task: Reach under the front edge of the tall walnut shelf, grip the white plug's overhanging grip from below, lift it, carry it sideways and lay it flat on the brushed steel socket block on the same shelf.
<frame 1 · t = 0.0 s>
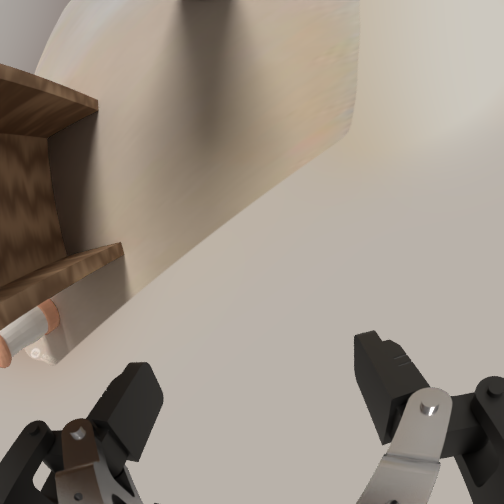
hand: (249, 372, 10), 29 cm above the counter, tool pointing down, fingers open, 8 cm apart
pepper shaker: (48, 311, 44), on the counter
walnut shelf: (74, 186, 37), on the counter
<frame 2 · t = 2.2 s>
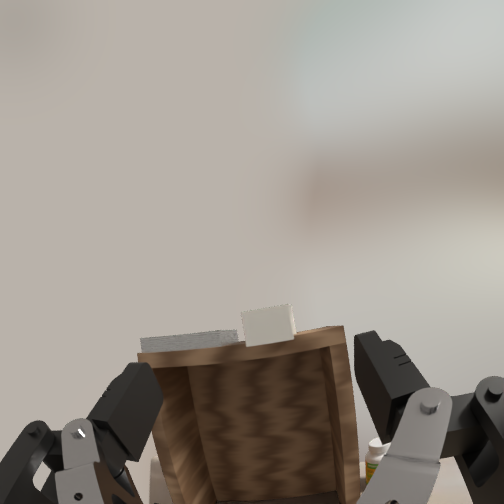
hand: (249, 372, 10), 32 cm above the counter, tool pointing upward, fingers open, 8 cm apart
socket block: (194, 348, 37), resting on walnut shelf
plug: (275, 338, 31), point 32 cm above the counter, touching walnut shelf
supplement bottle: (380, 482, 30), on the counter
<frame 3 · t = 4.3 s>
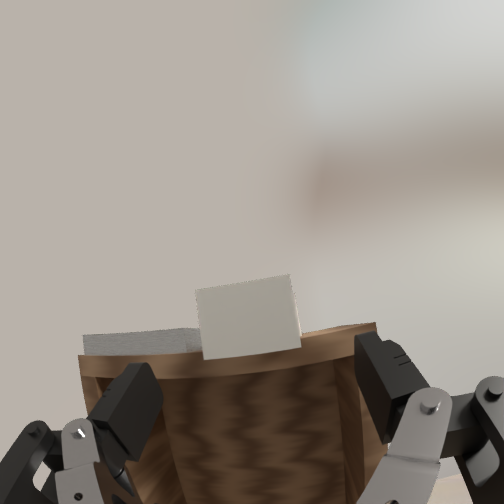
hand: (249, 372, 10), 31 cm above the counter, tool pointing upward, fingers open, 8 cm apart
socket block: (158, 352, 26), resting on walnut shelf
plug: (270, 343, 20), point 32 cm above the counter, touching walnut shelf
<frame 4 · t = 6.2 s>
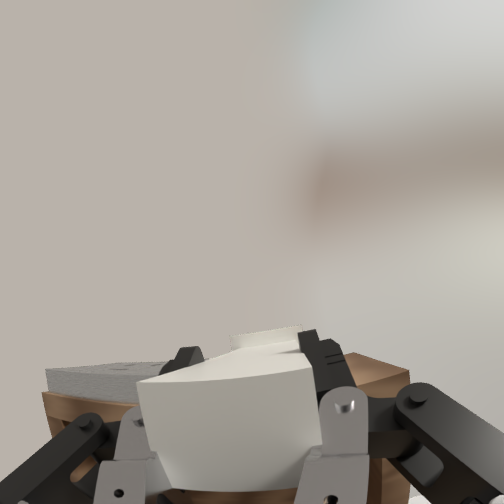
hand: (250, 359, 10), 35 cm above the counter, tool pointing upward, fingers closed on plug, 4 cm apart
socket block: (135, 389, 20), resting on walnut shelf
plug: (269, 398, 14), point 32 cm above the counter, touching gripper, walnut shelf
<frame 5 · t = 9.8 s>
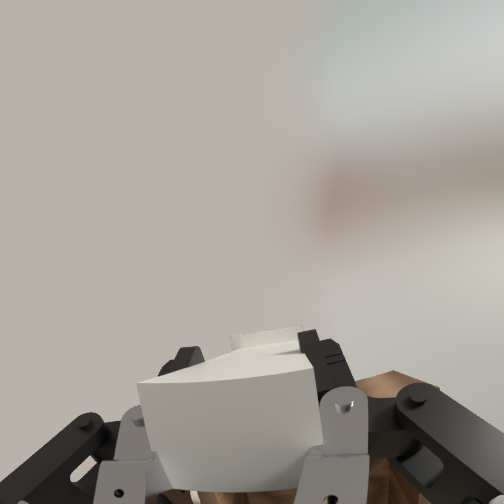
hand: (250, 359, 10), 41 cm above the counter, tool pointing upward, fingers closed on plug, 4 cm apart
plug: (270, 398, 14), point 38 cm above the counter, touching gripper
when the fingers open (38 cm above the counter, at t = 13.5 s): plug drops 1 cm, resting on socket block.
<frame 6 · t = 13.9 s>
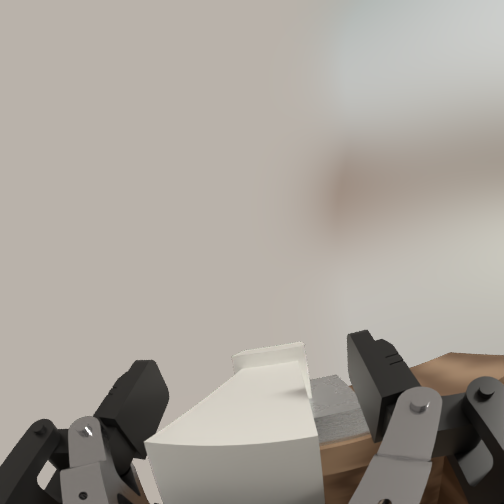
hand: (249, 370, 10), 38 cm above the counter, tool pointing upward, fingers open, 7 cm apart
socket block: (280, 422, 18), resting on walnut shelf
plug: (272, 421, 13), point 34 cm above the counter, touching socket block
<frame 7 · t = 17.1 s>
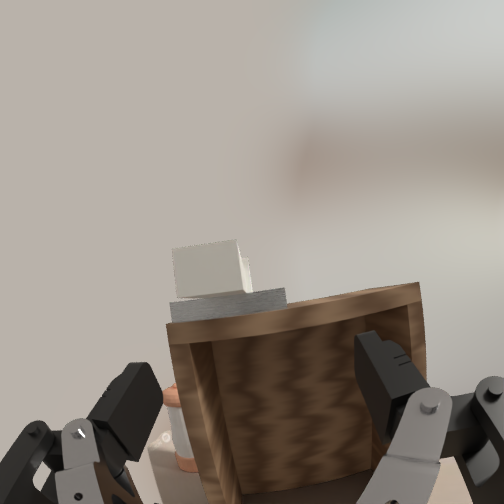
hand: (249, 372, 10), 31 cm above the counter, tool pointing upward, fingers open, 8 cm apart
socket block: (233, 313, 31), resting on walnut shelf
plug: (225, 295, 26), point 34 cm above the counter, touching socket block
pepper shaker: (196, 464, 42), on the counter
walnut shelf: (314, 503, 26), on the counter
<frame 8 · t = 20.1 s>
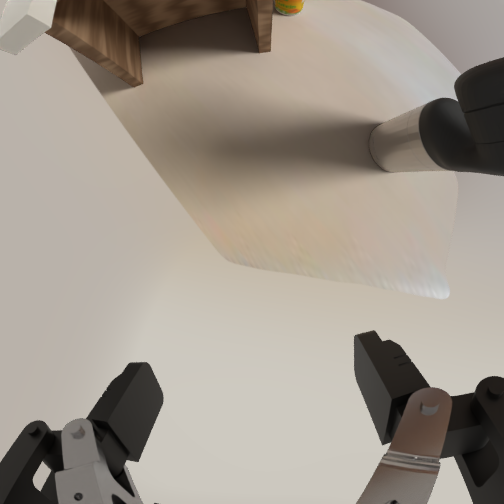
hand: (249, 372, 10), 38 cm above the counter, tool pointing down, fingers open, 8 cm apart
supplement bottle: (288, 7, 36), on the counter
walnut shelf: (194, 37, 38), on the counter
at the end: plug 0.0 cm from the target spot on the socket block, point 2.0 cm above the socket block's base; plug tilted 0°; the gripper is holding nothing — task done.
